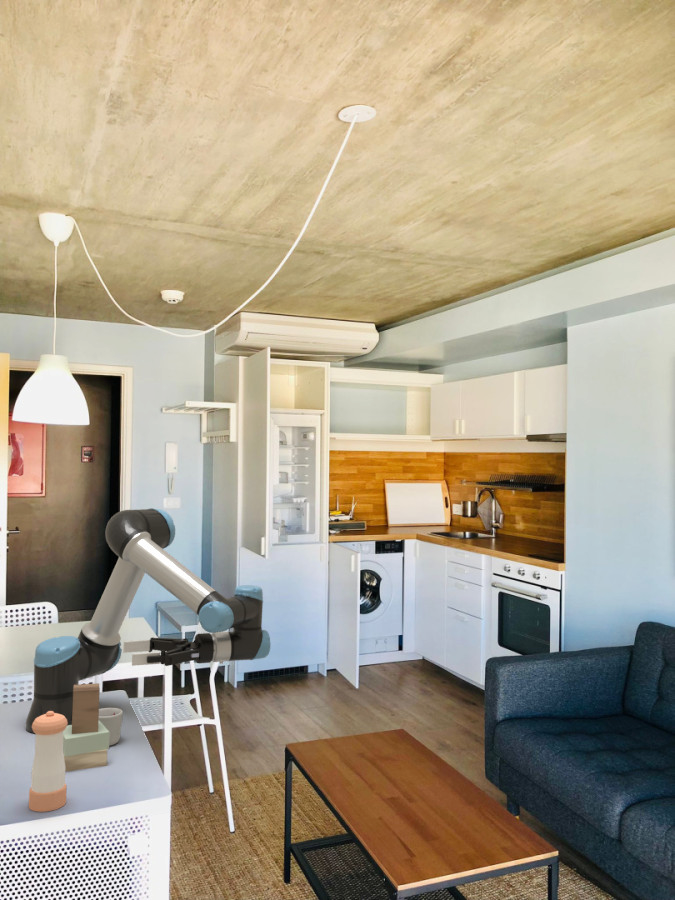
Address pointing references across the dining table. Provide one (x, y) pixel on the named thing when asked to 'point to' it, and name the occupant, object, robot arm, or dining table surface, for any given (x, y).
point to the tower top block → (85, 741)
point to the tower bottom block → (86, 760)
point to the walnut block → (85, 708)
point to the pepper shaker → (48, 764)
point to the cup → (111, 722)
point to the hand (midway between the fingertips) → (127, 653)
